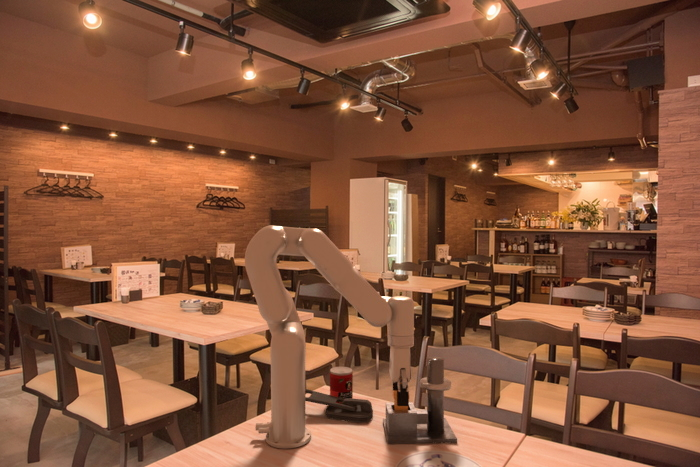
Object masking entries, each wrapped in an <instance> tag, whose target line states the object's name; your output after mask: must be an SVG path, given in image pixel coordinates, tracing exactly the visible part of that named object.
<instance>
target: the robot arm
mask: <svg viewBox="0 0 700 467" xmlns="http://www.w3.org/2000/svg"><path fill="white" fill-rule="evenodd" d="M279 255H281V256H295V257H305V259H306V260H307V261H308V262H309V263H310V264H311V265H312V266H313V268H315V270H317V272H318V273H319V274H320V275H321V276H322V277H323V278H324V279H325V280H326V281H327V282H328V283H329V284H330V285H331V287H332V288H333V289H334V290H335V291H336V292H338V294H340V295H341V296H342V297H343V298H344V299H345V300H346V301H347V302H348V303H349V304H350V305H351V306H352V307H353V308H354V309H355V311H357V313H359V314H360V316H361V317H362V318H363V319H364V320H365V321H366V322H367V323H368V324H369V325H370V326H372V327H375V328H383V327H385V326H387V346H388V347H389V348H390V349H389V369H388V370H389V376H390V379H391V381H392V391H393V390H398V391H397V406H408V405H409V402H410V391H409V384H408V383H410V380H411V348H412V347H414V346H415V342H414V341H415V335H414V334H415V301H414V300H413V298H412V297H410V296H401V295H399V296H381V295H380V293H378V291H377V290H376V289H375V288H374V287H373V286H372V284H370V283H369V281H368V280H367V279H366V278H365V277H364V276H363V275H362V274H361V272H360V270H359V269H358V268H357V267H356V266H355V265H354V264H353V262H352V261H350V260H349V259H348V257H347V256H346V255H345V254H344V253H343V252H342V251H341V250H340V249H339V247H338V246H336V244H335V243H334V242H333V241H332V240H330V238H329V237H328V235H326V234H325V233H324V231H322V230H321V229H318V228H309V227H307V228H306V227H305V228H304V227H293V226H292V227H290V226H281V225H273V224H272V225H271V224H269V225H267V226H264V227H262V228H260V229H259V230H258V231H257V232H256V233H255V234H254V235H253V237H252V238H250V240H249V242H248V244H247V246H246V250H245V254H244V267H245V271H246V274H247V277H248V280H249V283H250V287H251V289H252V293H253V295H254V297H255V301H256V304H257V308H258V312H259V314H260V316H261V318H262V319H263V320H264V321H265V322H266V324H267V327H268V330H269V333H270V334H271V340H270V348H269V350H270V352H269V354H270V355H269V356H270V390H271V391H270V400H271V401H270V406H271V407H270V408H271V409H270V411H271V412H270V413H271V414H270V417H271V419H270V421H268V422H266V423H263V422H260V423H259V422H256V423H255V431H258V434H265V442H266V443H267V444H268V446H271V447H272V448H276V449H283V450H284V449H287V450H288V449H294V448H299V447H302V446H304V445H305V444H308V443H309V442H310V440H311V438H312V432H311V430H309V428H307V427H306V401H305V397H306V393H305V389H306V355H307V354H306V353H307V352H306V351H307V350H306V349H307V348H306V345H307V344H306V335H305V330H304V327H303V324H302V321H301V318H300V315H299V313H298V310H297V307H296V305H295V301H294V299H293V297H292V295H291V293H290V291H289V290H288V289H286V287H285V285H284V282H283V279H282V276H281V272H280V270H279V267H278V263H277V259H278V256H279Z"/></svg>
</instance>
